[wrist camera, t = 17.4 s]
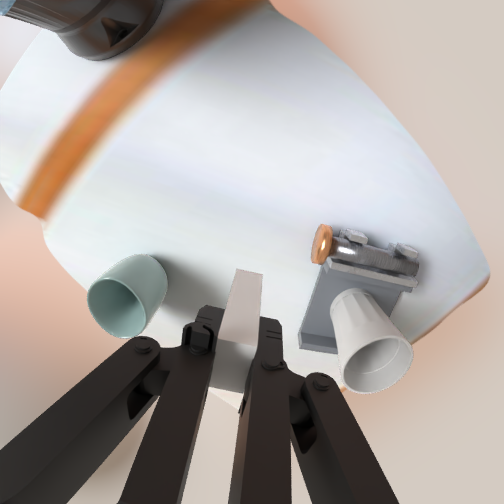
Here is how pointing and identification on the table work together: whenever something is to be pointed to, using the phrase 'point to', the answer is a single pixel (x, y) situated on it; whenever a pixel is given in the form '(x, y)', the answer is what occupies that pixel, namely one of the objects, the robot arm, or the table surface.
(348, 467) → the robot arm
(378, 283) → the dock
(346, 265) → the lug rail
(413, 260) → the lock pin
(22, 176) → the table surface
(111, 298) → the cup
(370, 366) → the cup
